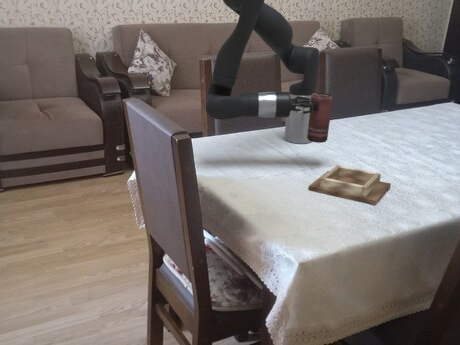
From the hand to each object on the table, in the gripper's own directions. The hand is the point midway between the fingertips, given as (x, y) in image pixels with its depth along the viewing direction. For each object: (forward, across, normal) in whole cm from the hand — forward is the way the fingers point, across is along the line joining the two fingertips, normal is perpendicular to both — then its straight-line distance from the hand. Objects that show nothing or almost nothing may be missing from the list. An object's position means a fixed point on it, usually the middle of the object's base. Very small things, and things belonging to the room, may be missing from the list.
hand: (331, 104), depth 135 cm
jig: (+2, -20, +19) cm, 27 cm away
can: (-4, 0, +11) cm, 12 cm away
